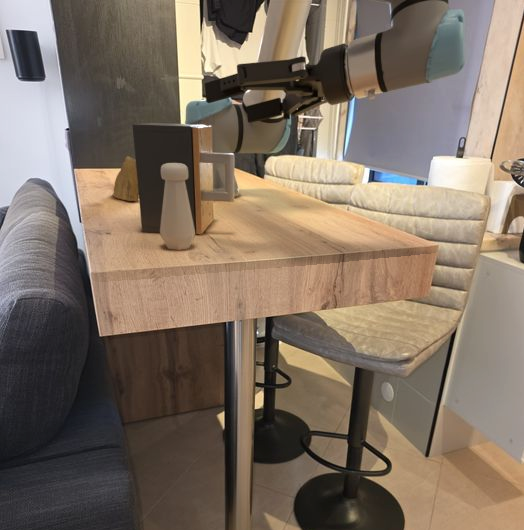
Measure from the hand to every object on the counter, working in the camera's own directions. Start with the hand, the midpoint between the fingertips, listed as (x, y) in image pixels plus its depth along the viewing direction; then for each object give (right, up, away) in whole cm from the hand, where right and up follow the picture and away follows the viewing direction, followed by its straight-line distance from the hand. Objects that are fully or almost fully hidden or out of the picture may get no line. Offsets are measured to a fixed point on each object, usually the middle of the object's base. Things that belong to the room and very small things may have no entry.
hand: (228, 104), depth 77 cm
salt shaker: (-8, -24, -1) cm, 26 cm away
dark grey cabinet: (-11, -17, +13) cm, 24 cm away
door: (-3, -17, +12) cm, 22 cm away
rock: (-29, -4, +38) cm, 48 cm away
